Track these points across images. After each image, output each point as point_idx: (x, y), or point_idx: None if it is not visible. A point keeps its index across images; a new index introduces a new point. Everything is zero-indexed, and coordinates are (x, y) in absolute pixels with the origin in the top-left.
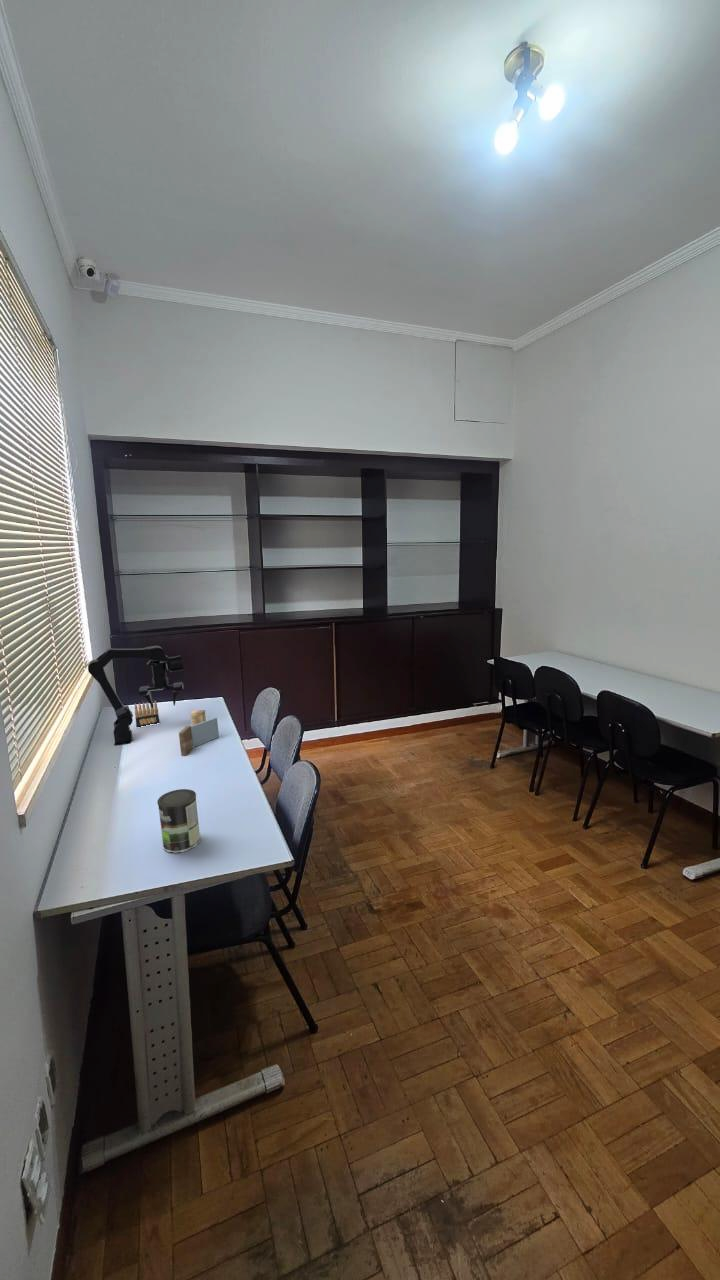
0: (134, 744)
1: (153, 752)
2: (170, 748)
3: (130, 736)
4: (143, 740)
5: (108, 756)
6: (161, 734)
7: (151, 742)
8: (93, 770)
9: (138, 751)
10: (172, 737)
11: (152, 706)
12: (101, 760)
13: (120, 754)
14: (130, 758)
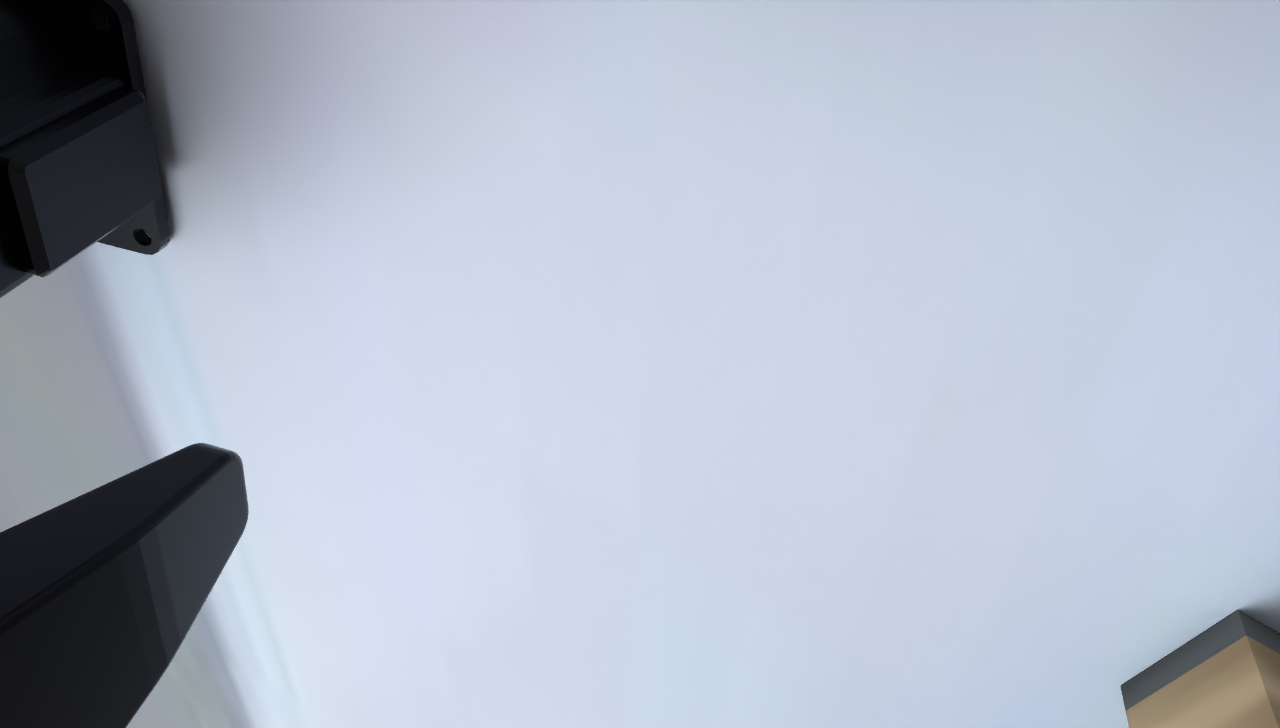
0: (259, 322)
1: (548, 703)
2: (748, 724)
3: (104, 235)
4: (366, 228)
5: None
6: (684, 92)
7: (506, 397)
8: None
9: (370, 582)
10: (856, 390)
11: (176, 601)
12: None
13: None
14: (322, 690)
